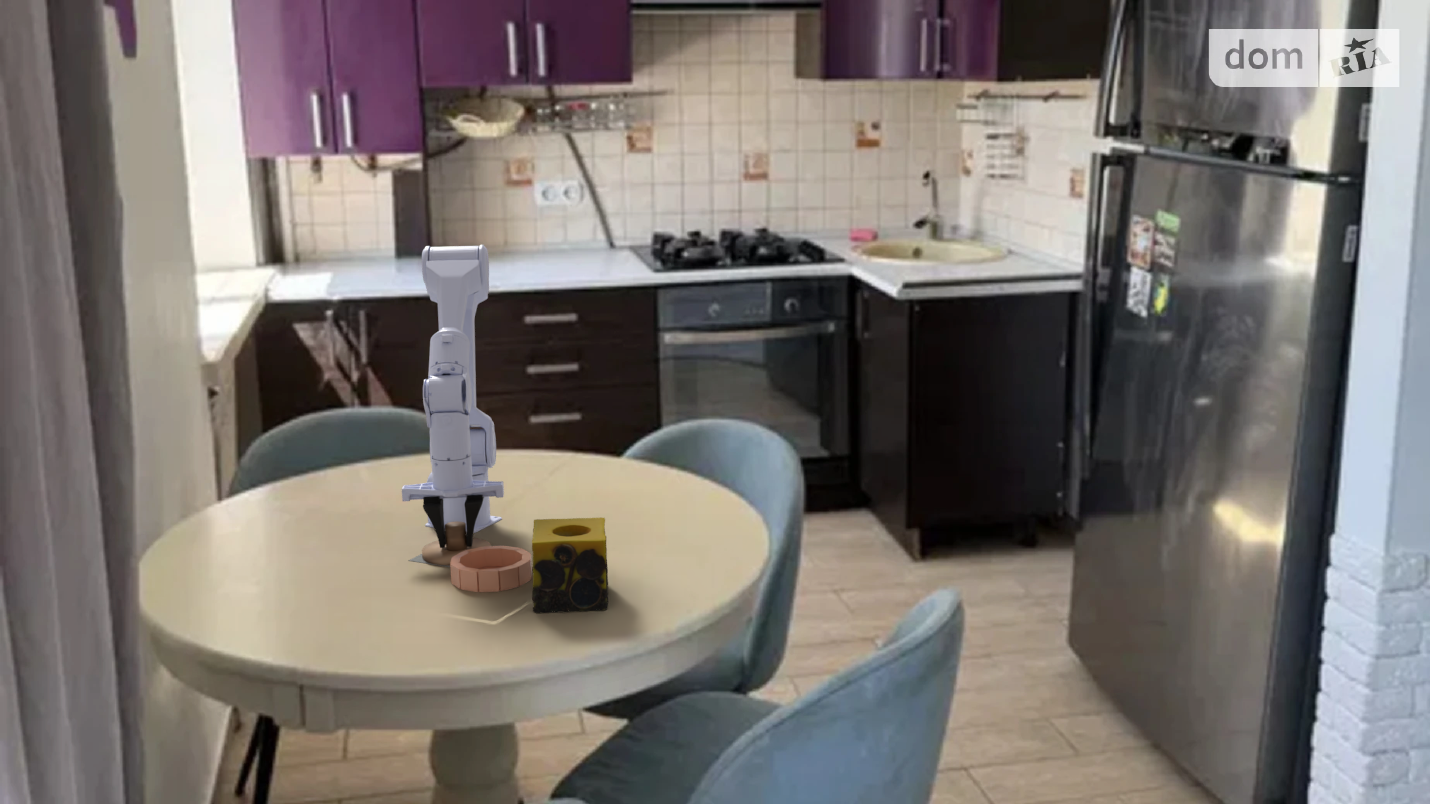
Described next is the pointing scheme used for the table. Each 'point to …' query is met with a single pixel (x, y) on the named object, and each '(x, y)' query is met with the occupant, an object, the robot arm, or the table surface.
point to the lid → (450, 545)
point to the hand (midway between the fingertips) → (456, 545)
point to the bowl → (491, 568)
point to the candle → (569, 565)
